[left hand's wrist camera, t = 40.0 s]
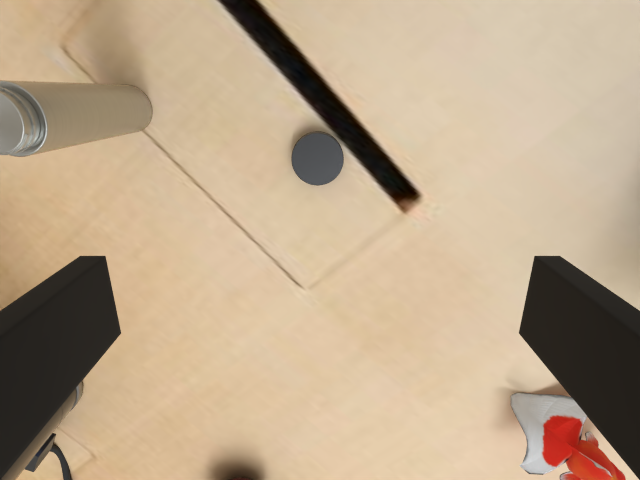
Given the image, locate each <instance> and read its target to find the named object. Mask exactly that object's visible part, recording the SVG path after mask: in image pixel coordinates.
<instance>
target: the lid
mask: <svg viewBox="0 0 640 480" xmlns="http://www.w3.org/2000/svg"><path fill="white" fill-rule="evenodd" d="M292 166H293V169H294V171H295V173H296V174H297V176H298V177H299V178H300V179H301V180H303V181H304V182H306V183H308V184H311V185H324V184H327V183H329V182H331V181H332V180H334V179H335V178H336V177H337V176H338V175H339V173H340V171H341V169H342V166H343V152H342V149H341V147H340V145H339V143H338V142H337V140H336V139H335V138H334V137H333V136H331V135H329V134H327V133H324V132H311V133H308V134H306V135H304V136H303V137H301V138H300V139H299V141H298V142H297V143H296V145H295V147H294V149H293V153H292Z"/></svg>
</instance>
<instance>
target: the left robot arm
mask: <svg viewBox="0 0 640 480" xmlns="http://www.w3.org/2000/svg"><path fill="white" fill-rule="evenodd" d="M120 334H121V330H120V326H119V321H118V316H117V311H116V306H115V301H114V296H113V291H112V286H111V281H110V277H109V272H108V267H107V262H106V257H105V256H80V257H78V258H77V259H75V260H74V261H72V262H71V263H69V264H68V265H66V266H65V267H64V268H62V269H61V270H59V271H58V272H56V273H55V274H53V275H52V276H50V277H49V278H48V279H46V280H45V281H43V282H42V283H40V284H39V285H37V286H36V287H34V288H33V289H32V290H30V291H29V292H27V293H26V294H24V295H23V296H21V297H20V298H18V299H17V300H16V301H14V302H13V303H11V304H10V305H8V306H7V307H5V308H4V309H2V310H1V311H0V480H1V478H2V477H3V476H4V475H5V474H6V472H7V471H8V470H9V469H10V468H11V466H12V465H13V464H14V463H15V461H16V460H17V459H18V458H19V457H20V455H21V454H22V453H23V452H24V451H25V449H26V448H27V447H28V446H29V444H30V443H31V442H32V441H33V440H34V438H35V437H36V436H37V435H38V434H39V432H40V431H41V430H42V429H43V427H44V426H45V425H46V424H47V423H48V421H49V420H50V419H51V418H52V416H53V415H54V414H55V413H56V412H57V410H58V409H59V408H60V407H61V406H62V404H63V403H64V402H65V401H66V399H67V398H68V397H69V396H70V395H71V393H72V392H73V391H74V390H75V389H76V387H77V386H78V385H79V384H80V382H81V381H82V380H83V379H84V378H85V376H86V375H87V374H88V373H89V372H90V370H91V369H92V368H93V367H94V365H95V364H96V363H97V362H98V361H99V359H100V358H101V357H102V356H103V355H104V353H105V352H106V351H107V350H108V348H109V347H110V346H111V345H112V344H113V342H114V341H115V340H116V339H117V337H118V336H119V335H120ZM519 334H520V335H521V336H522V337H523V339H524V340H525V341H526V342H527V344H528V345H529V346H530V347H531V348H532V350H533V351H534V352H535V353H536V355H537V356H538V357H539V358H540V359H541V361H542V362H543V363H544V364H545V365H546V367H547V368H548V369H549V370H550V372H551V373H552V374H553V375H554V376H555V378H556V379H557V380H558V381H559V382H560V384H561V385H562V386H563V387H564V389H565V390H566V391H567V392H568V393H569V395H570V396H571V397H572V398H573V399H574V401H575V402H576V403H577V404H578V406H579V407H580V408H581V409H582V410H583V412H584V413H585V414H586V415H587V416H588V418H589V419H590V420H591V421H592V423H593V424H594V425H595V426H596V427H597V429H598V430H599V431H600V432H601V434H602V435H603V436H604V437H605V438H606V440H607V441H608V442H609V443H610V444H611V446H612V447H613V448H614V449H615V451H616V452H617V453H618V454H619V455H620V457H621V458H622V459H623V460H624V461H625V463H626V464H627V465H628V466H629V468H630V469H631V470H632V471H633V472H634V474H635V475H636V476H637V477H638V478H639V480H640V311H639V310H638V309H636V308H635V307H633V306H632V305H630V304H629V303H627V302H626V301H624V300H623V299H622V298H620V297H619V296H617V295H616V294H614V293H613V292H611V291H610V290H608V289H607V288H606V287H604V286H603V285H601V284H600V283H598V282H597V281H595V280H594V279H592V278H591V277H590V276H588V275H587V274H585V273H584V272H582V271H581V270H579V269H578V268H576V267H575V266H574V265H572V264H571V263H569V262H568V261H566V260H565V259H563V258H562V257H560V256H535V257H534V262H533V267H532V272H531V277H530V281H529V286H528V291H527V296H526V301H525V306H524V311H523V316H522V321H521V326H520V330H519Z"/></svg>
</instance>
